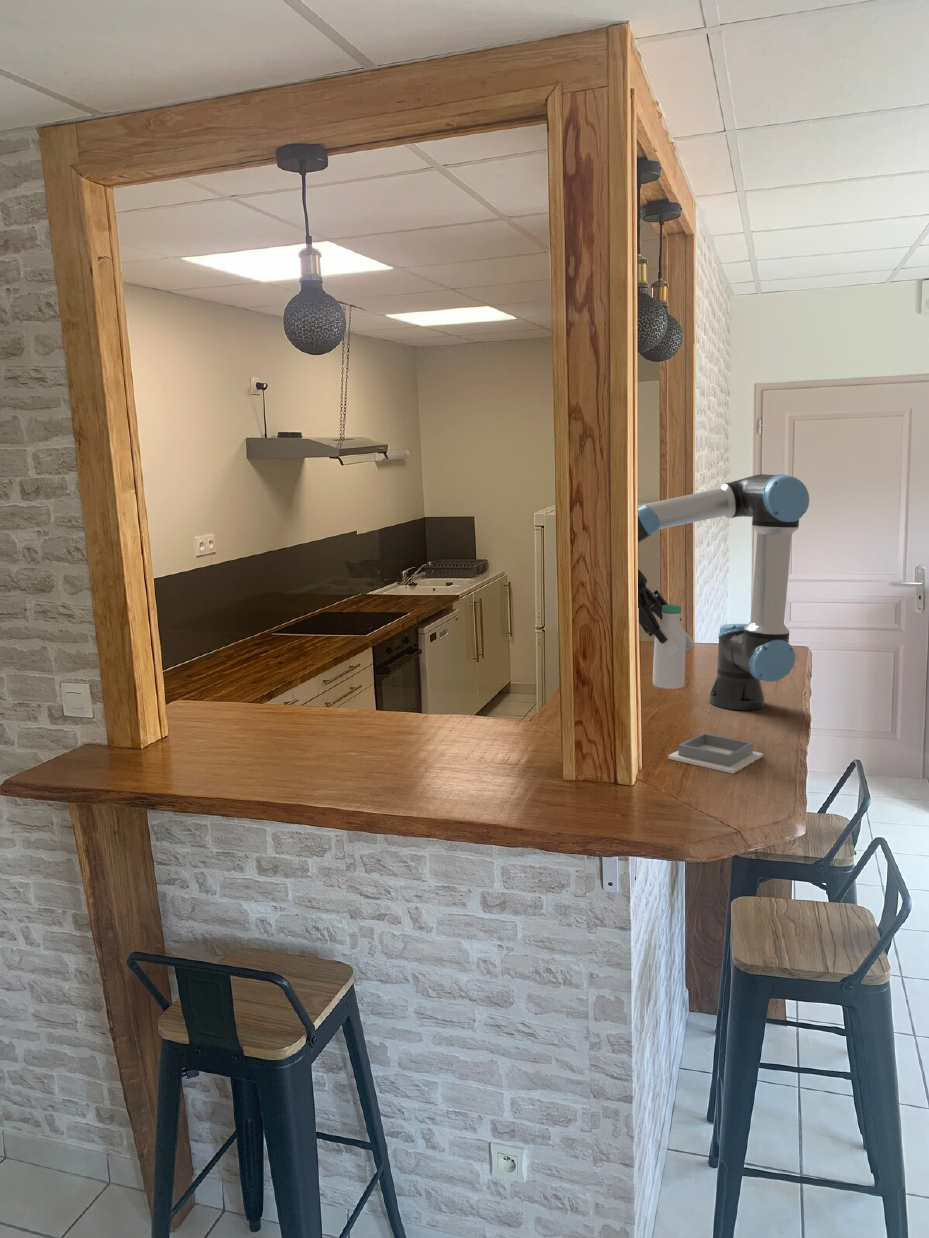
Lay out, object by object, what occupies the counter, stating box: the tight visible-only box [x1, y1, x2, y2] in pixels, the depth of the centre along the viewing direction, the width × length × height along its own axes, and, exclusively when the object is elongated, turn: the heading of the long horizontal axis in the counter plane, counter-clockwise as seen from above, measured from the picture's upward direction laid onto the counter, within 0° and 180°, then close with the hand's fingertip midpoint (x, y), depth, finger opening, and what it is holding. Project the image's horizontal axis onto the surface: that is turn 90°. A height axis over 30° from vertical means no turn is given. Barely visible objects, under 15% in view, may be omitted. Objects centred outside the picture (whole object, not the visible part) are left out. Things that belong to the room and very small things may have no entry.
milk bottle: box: [652, 604, 687, 690], centre depth 227 cm, size 8×8×20 cm
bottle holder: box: [667, 732, 764, 775], centre depth 216 cm, size 16×16×3 cm
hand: (682, 649), depth 225 cm, fingers closed on milk bottle, 7 cm apart
